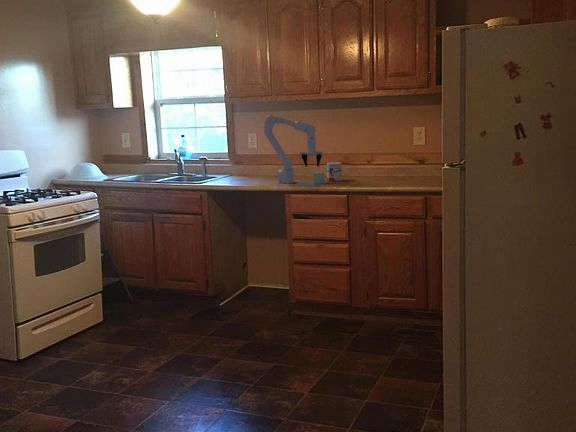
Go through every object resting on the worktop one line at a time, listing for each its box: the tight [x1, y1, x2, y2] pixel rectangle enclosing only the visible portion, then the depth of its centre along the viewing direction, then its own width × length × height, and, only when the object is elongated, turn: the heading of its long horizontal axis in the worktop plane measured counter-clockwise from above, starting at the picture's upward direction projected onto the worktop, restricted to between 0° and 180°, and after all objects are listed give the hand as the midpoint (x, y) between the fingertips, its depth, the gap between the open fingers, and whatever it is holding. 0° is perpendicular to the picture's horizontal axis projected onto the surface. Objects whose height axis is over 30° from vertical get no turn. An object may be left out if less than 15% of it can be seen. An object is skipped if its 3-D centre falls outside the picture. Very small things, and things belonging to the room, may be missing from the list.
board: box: [289, 181, 328, 188], centre depth 395 cm, size 18×20×1 cm
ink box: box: [326, 161, 343, 182], centre depth 407 cm, size 9×5×12 cm, turn 101°
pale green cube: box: [312, 171, 325, 184], centre depth 397 cm, size 5×5×7 cm
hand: (312, 166), depth 407 cm, fingers open, 7 cm apart
